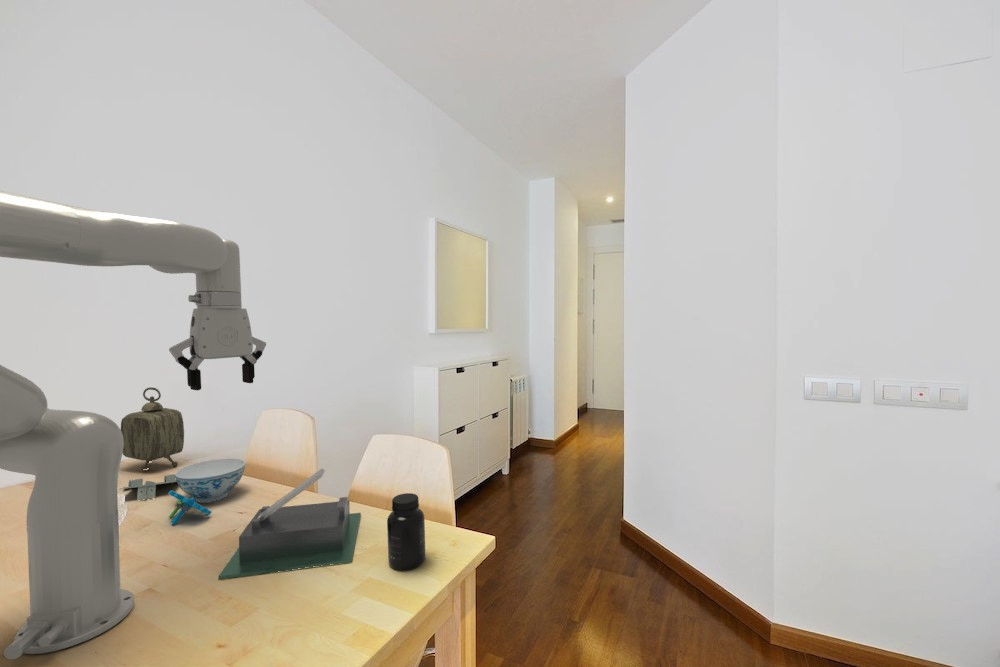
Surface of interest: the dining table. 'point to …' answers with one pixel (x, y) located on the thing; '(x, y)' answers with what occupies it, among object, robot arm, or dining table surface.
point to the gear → (185, 506)
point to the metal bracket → (148, 486)
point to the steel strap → (291, 495)
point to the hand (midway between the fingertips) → (223, 385)
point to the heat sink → (295, 539)
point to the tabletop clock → (153, 432)
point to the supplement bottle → (406, 533)
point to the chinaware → (210, 478)
